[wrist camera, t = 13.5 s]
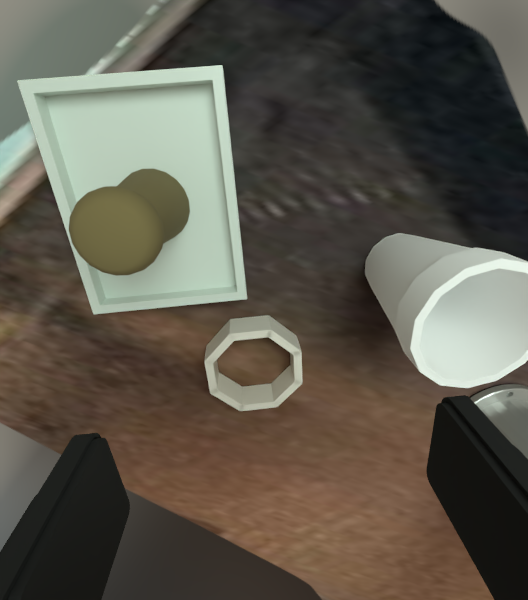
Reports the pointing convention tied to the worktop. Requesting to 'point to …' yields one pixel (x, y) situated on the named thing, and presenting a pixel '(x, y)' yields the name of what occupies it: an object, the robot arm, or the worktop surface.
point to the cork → (129, 221)
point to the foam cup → (453, 307)
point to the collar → (254, 394)
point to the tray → (147, 155)
